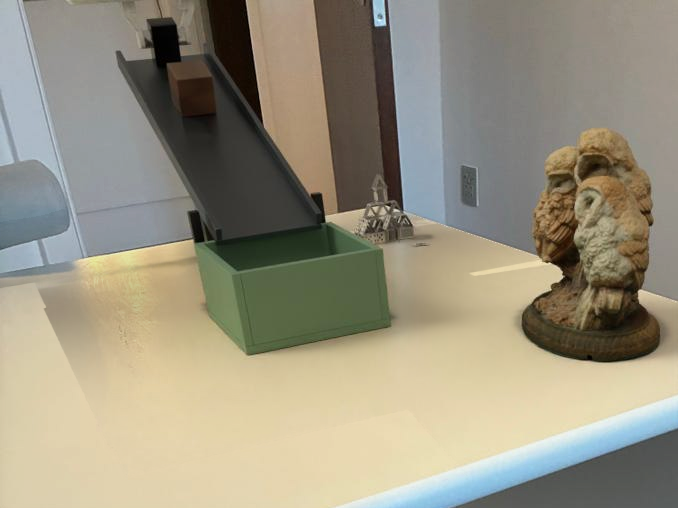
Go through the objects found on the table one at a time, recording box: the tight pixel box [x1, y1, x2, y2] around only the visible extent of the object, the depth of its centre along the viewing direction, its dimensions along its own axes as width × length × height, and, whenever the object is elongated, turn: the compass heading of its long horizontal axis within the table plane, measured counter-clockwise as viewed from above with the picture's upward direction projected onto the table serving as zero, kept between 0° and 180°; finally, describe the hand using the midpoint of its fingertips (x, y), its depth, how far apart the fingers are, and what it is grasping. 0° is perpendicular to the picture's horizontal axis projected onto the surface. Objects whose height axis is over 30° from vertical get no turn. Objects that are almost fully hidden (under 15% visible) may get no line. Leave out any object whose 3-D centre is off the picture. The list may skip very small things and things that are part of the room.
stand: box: [186, 191, 327, 309], centre depth 108 cm, size 14×21×10 cm, turn 27°
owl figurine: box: [521, 126, 661, 362], centre depth 85 cm, size 18×12×17 cm, turn 21°
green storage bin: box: [193, 221, 392, 356], centre depth 95 cm, size 15×15×7 cm
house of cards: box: [352, 173, 429, 247], centre depth 120 cm, size 9×9×8 cm
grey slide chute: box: [115, 16, 322, 246], centre depth 104 cm, size 11×38×5 cm, turn 27°
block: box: [167, 60, 216, 117], centre depth 107 cm, size 4×4×4 cm
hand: (165, 46), depth 112 cm, fingers closed on grey slide chute, 3 cm apart
